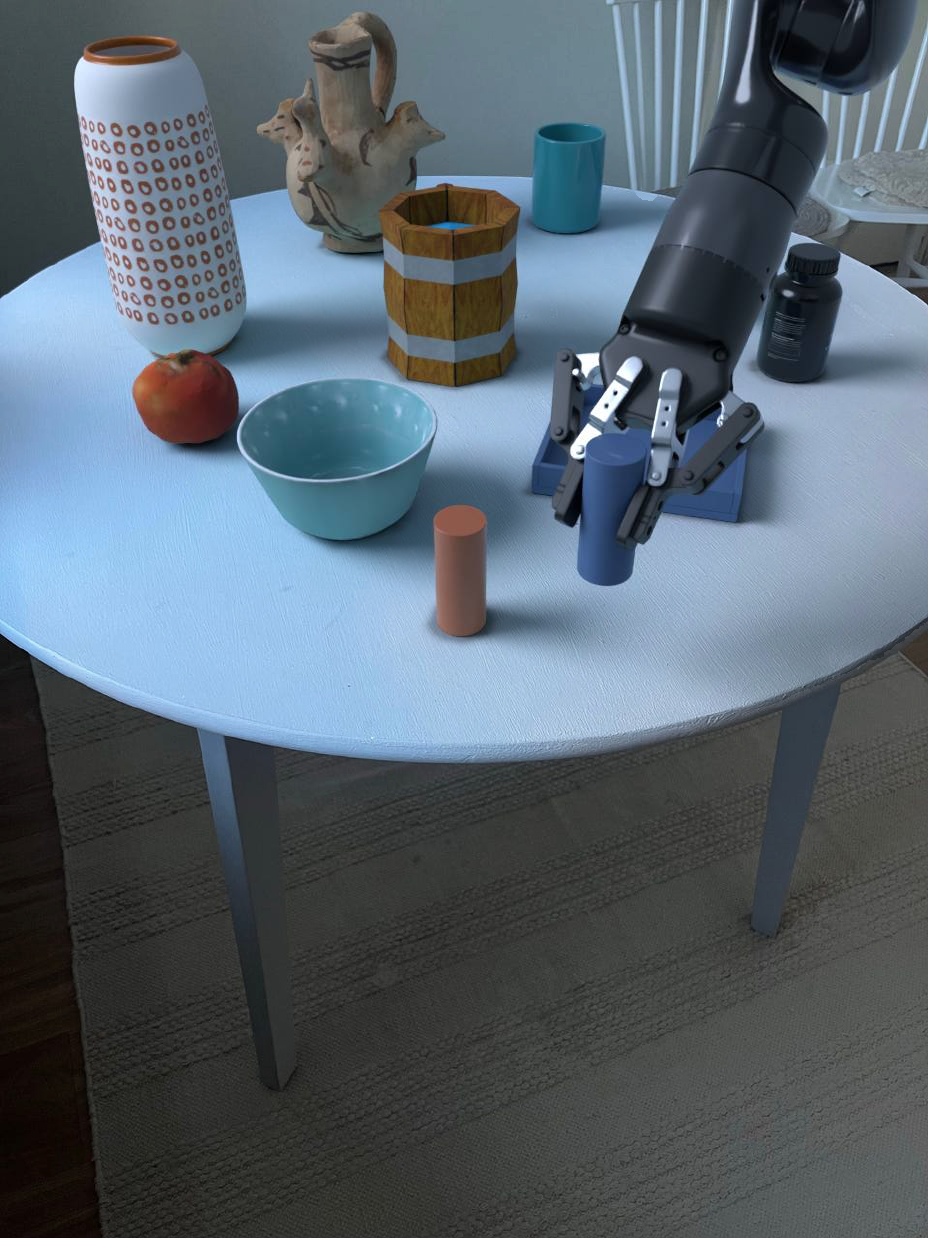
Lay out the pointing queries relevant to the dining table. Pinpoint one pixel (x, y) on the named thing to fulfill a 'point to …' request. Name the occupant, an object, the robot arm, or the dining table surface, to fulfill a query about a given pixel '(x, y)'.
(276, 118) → the ceramic vessel
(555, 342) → the dining table surface
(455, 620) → the terracotta peg
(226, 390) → the red round fruit
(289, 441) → the bowl
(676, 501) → the blue tray
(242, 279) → the vase
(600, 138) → the cup
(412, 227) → the wooden banded barrel
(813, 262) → the supplement bottle
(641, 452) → the blue peg
